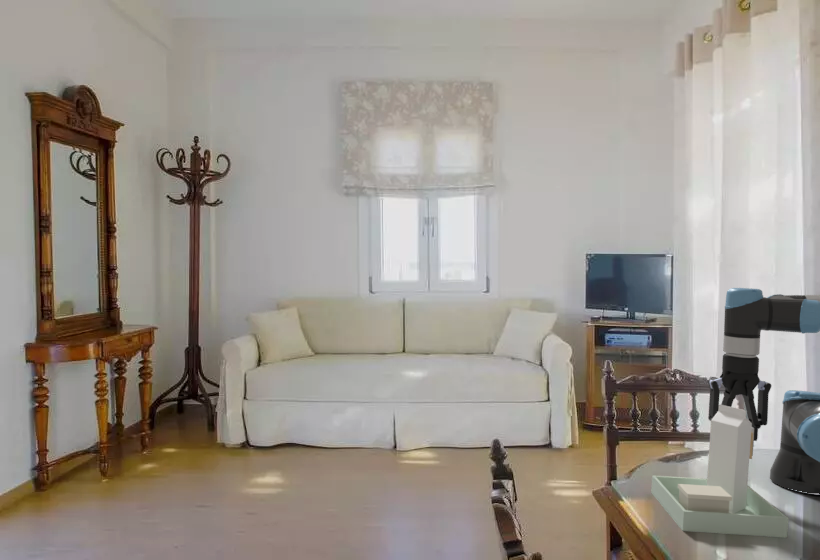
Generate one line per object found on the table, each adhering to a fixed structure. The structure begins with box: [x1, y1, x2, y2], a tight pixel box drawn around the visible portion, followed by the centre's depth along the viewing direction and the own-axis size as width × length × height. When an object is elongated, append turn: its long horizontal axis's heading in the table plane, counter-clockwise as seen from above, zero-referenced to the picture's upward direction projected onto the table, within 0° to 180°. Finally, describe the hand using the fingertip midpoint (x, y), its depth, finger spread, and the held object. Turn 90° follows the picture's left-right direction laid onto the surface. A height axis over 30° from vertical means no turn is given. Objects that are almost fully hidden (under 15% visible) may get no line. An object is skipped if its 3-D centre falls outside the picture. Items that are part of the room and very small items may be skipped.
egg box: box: [678, 484, 732, 513], centre depth 131 cm, size 9×6×7 cm, turn 86°
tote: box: [650, 474, 789, 539], centre depth 136 cm, size 20×20×4 cm
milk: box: [706, 403, 752, 513], centre depth 139 cm, size 6×6×22 cm
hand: (735, 453), depth 150 cm, fingers closed on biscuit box, 5 cm apart
